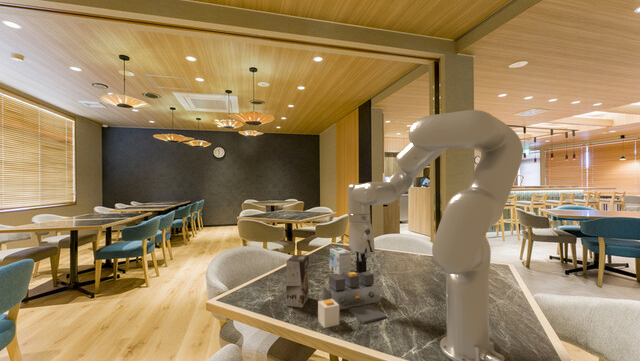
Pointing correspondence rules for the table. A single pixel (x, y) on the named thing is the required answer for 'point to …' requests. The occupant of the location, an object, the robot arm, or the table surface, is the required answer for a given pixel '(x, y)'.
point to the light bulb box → (340, 260)
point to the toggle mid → (351, 278)
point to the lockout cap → (328, 313)
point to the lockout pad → (367, 313)
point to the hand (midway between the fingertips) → (361, 271)
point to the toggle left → (337, 282)
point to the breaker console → (352, 295)
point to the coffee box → (297, 280)
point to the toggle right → (366, 278)
